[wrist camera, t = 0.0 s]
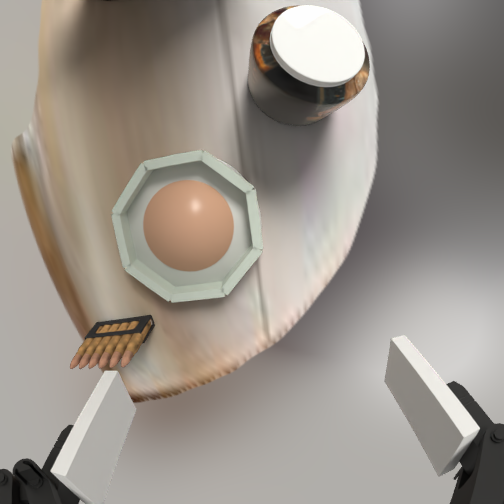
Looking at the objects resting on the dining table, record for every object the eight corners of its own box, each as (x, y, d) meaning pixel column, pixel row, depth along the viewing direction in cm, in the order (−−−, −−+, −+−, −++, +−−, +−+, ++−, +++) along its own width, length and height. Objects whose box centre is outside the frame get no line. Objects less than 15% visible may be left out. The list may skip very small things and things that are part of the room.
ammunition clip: (100, 331, 43) (68, 373, 31) (96, 322, 42) (62, 363, 31) (155, 325, 43) (131, 372, 31) (151, 314, 42) (125, 360, 30)
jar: (244, 122, 35) (246, 92, 21) (250, 44, 32) (254, -15, 17) (333, 131, 35) (383, 112, 21) (335, 55, 32) (378, 8, 18)
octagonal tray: (114, 168, 36) (101, 169, 32) (250, 142, 36) (251, 139, 32) (141, 296, 41) (132, 308, 37) (268, 281, 41) (271, 293, 37)
